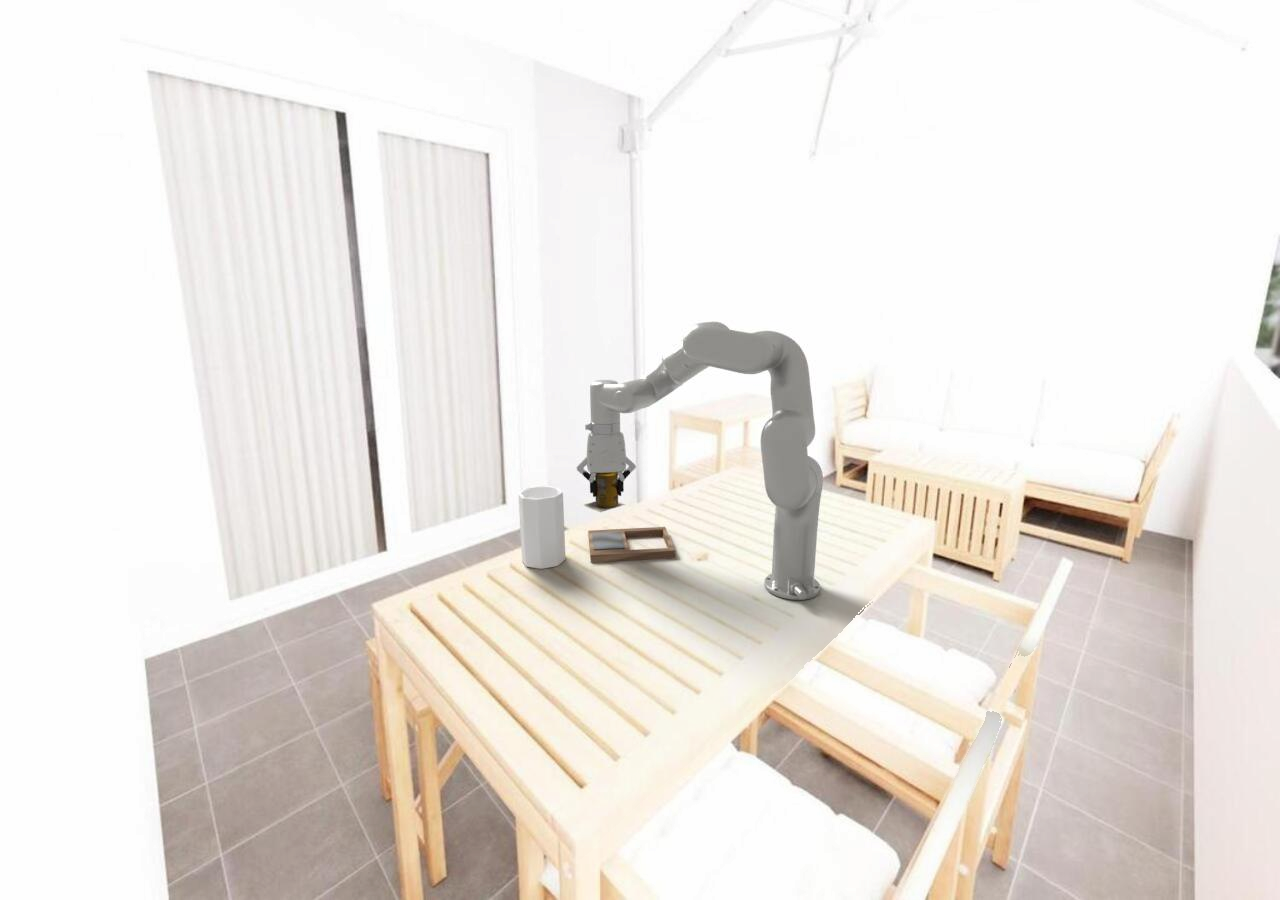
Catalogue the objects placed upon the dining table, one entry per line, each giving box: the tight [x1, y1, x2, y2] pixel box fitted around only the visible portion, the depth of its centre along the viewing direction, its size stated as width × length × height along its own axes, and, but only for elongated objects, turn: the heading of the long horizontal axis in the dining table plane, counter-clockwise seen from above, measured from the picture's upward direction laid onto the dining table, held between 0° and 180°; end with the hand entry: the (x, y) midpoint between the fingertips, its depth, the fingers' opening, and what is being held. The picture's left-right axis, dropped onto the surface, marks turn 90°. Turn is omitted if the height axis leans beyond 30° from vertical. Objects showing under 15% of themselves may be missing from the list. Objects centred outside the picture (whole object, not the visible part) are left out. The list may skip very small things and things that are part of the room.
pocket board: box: [587, 526, 676, 563], centre depth 163 cm, size 17×22×2 cm
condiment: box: [583, 473, 626, 513], centre depth 158 cm, size 7×8×12 cm
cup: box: [517, 485, 566, 570], centre depth 153 cm, size 11×11×18 cm
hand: (606, 494), depth 158 cm, fingers closed on condiment, 6 cm apart
